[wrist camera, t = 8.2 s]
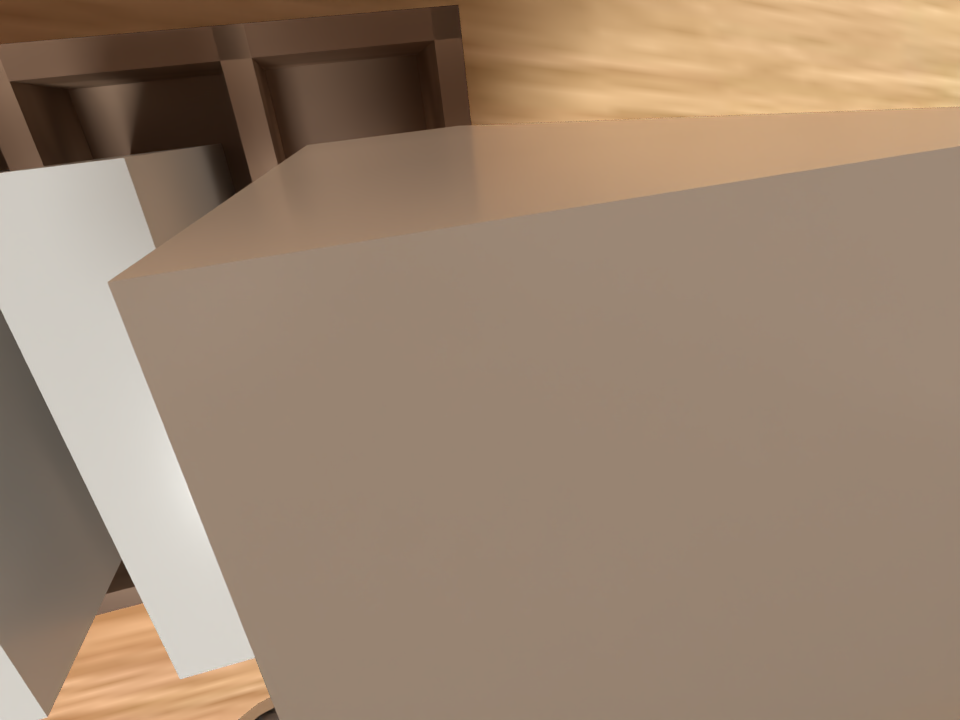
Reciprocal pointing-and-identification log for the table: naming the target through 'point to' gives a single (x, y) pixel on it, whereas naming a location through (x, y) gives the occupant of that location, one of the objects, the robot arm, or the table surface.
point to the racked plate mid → (118, 370)
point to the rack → (230, 98)
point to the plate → (581, 417)
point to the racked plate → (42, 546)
